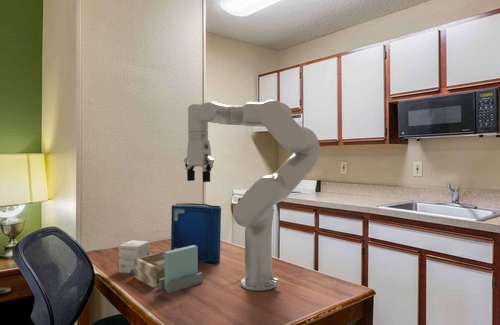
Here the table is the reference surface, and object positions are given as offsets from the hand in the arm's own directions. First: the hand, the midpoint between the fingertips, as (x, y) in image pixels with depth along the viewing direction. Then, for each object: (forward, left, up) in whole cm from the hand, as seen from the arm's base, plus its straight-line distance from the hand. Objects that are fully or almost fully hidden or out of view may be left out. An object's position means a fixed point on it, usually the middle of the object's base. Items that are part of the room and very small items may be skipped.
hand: (198, 181), depth 129 cm
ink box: (+20, +17, -36) cm, 45 cm away
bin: (+5, +13, -36) cm, 39 cm away
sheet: (-7, +13, -36) cm, 38 cm away
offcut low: (+3, +13, -35) cm, 37 cm away
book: (+13, -8, -36) cm, 40 cm away
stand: (-7, +13, -36) cm, 39 cm away
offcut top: (+3, +13, -32) cm, 34 cm away
